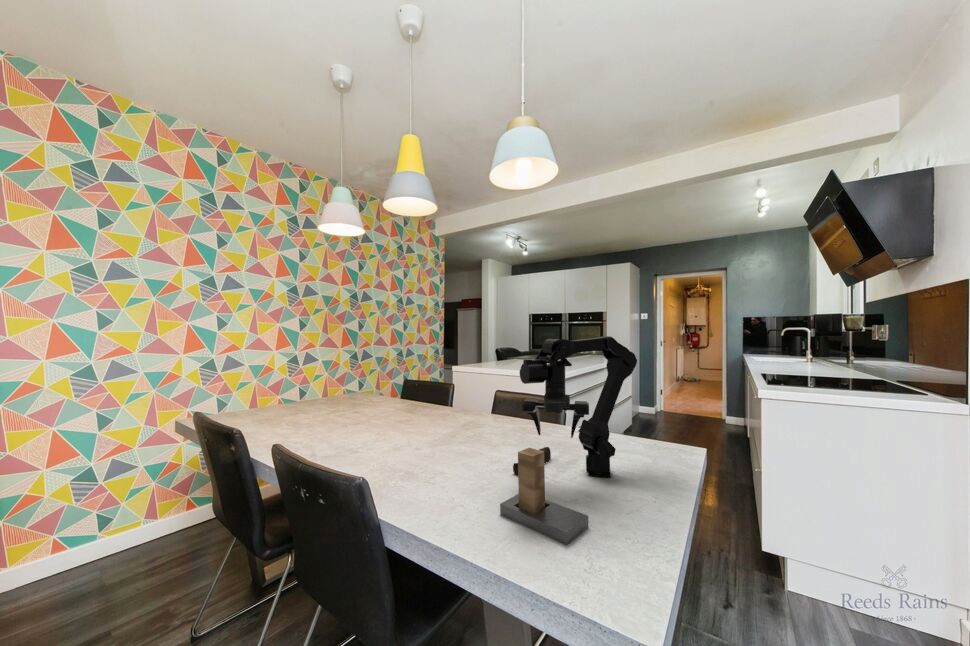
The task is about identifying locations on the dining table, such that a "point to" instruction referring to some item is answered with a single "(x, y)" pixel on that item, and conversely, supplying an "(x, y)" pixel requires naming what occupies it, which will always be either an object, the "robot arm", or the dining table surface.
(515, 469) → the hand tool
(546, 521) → the grey slotted base plate
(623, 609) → the dining table surface
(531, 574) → the dining table surface
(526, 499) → the walnut post
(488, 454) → the dining table surface
